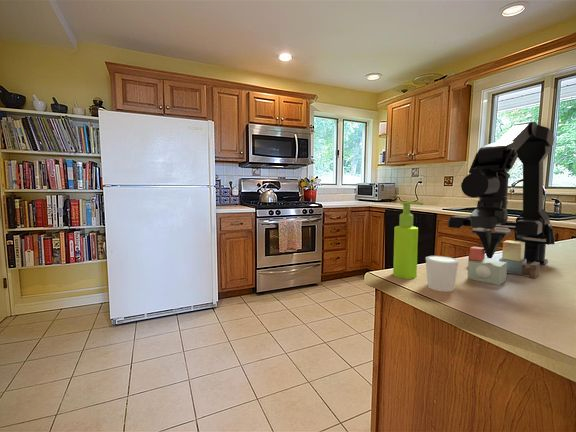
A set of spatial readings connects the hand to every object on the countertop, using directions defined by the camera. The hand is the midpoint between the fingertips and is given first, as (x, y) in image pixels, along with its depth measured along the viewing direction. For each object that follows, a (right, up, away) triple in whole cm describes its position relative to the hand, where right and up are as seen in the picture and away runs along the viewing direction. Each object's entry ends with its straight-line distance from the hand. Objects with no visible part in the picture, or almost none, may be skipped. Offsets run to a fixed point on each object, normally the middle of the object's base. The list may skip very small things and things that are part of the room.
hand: (489, 257), depth 73 cm
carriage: (+11, -5, +6) cm, 13 cm away
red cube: (-2, -1, +2) cm, 3 cm away
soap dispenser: (-19, -6, +5) cm, 21 cm away
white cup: (-15, -7, -5) cm, 17 cm away
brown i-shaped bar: (+9, -5, +8) cm, 13 cm away
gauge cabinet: (0, -6, +1) cm, 6 cm away
